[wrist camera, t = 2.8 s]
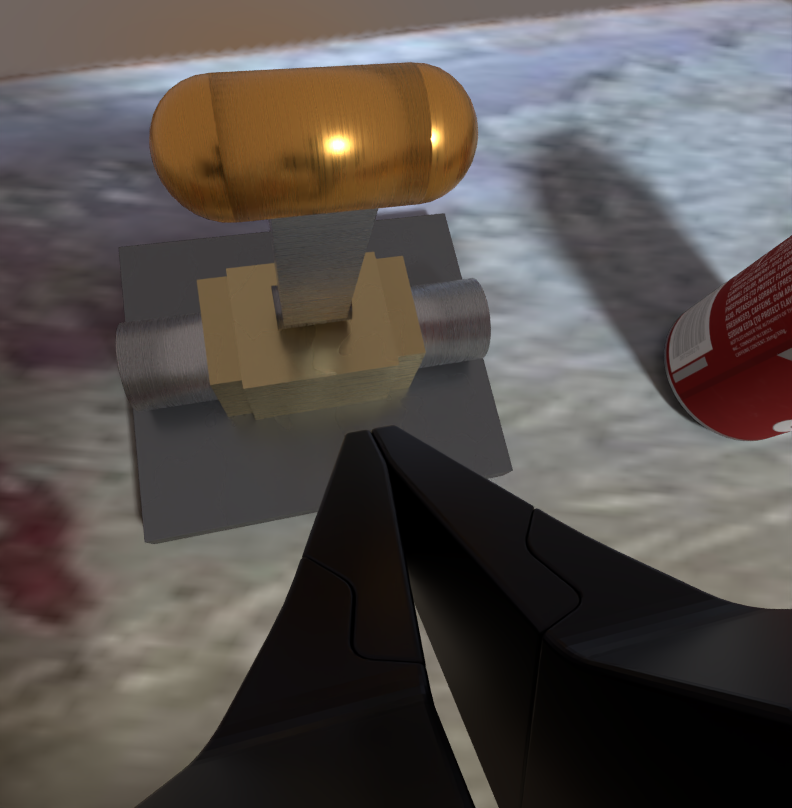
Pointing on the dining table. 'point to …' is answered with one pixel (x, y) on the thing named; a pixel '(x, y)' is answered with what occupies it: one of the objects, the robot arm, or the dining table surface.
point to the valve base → (296, 447)
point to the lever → (313, 163)
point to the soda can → (738, 352)
